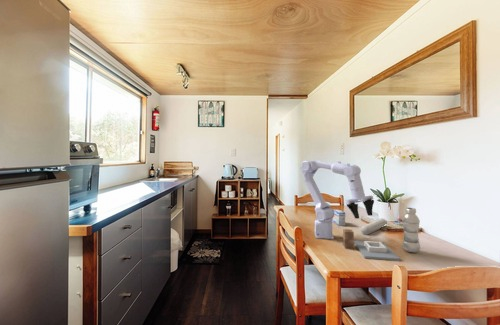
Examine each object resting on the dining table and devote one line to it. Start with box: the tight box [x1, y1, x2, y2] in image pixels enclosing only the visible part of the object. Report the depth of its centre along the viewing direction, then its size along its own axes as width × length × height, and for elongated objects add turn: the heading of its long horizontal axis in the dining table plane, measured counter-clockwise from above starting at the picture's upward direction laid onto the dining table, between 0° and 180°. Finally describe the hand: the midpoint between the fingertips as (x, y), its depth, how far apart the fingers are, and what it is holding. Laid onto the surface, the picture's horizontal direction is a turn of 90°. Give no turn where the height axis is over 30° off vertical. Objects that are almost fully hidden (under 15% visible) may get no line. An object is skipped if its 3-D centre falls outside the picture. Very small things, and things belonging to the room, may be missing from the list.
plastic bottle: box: [401, 207, 421, 254], centre depth 101 cm, size 6×7×20 cm
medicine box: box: [332, 209, 346, 227], centre depth 144 cm, size 8×4×9 cm, turn 5°
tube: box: [360, 217, 388, 236], centre depth 132 cm, size 5×5×25 cm
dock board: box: [354, 240, 402, 262], centre depth 103 cm, size 14×18×3 cm
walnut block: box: [342, 228, 355, 250], centre depth 108 cm, size 4×4×8 cm
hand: (363, 216), depth 106 cm, fingers open, 7 cm apart
